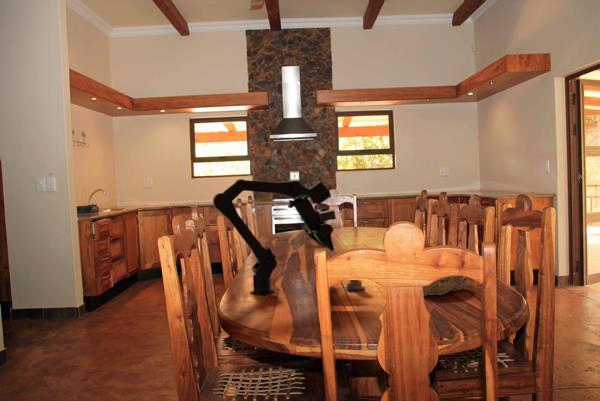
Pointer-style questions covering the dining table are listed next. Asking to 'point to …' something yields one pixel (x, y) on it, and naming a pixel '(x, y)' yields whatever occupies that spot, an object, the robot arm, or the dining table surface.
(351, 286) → the stamp
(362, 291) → the stamping board
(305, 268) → the dining table surface
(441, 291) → the rock
